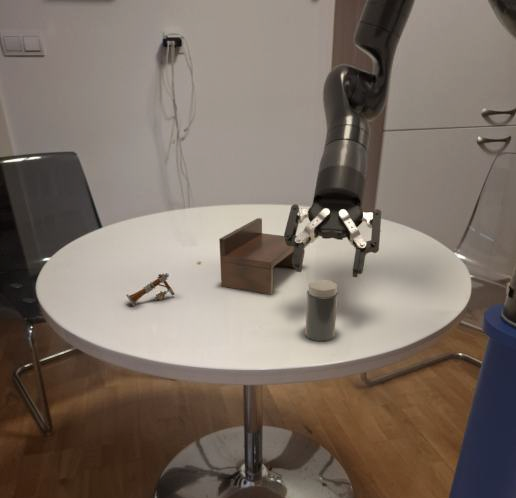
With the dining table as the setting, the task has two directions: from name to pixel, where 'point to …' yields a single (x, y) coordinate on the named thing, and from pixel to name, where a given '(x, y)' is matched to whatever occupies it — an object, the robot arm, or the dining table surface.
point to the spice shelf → (252, 258)
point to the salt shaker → (321, 310)
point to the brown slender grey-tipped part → (149, 287)
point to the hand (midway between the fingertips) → (326, 272)
